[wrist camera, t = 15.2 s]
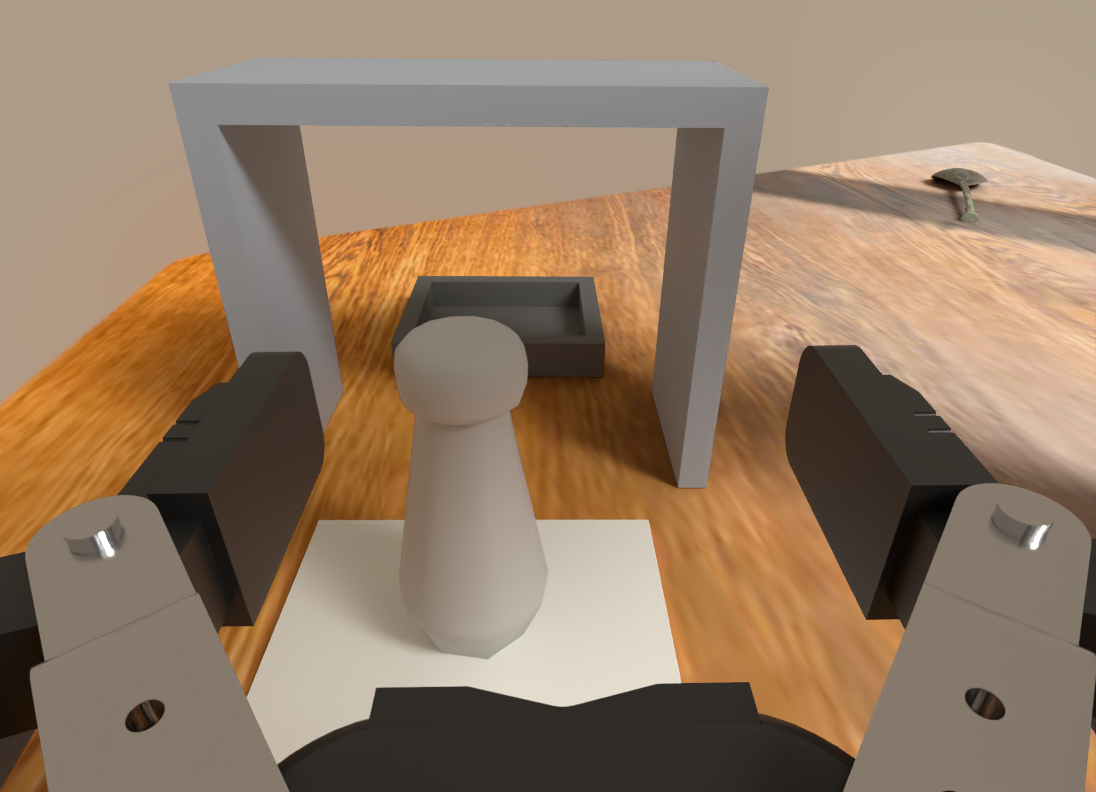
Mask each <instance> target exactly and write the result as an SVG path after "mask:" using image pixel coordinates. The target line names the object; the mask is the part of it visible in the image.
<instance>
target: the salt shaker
mask: <svg viewBox="0 0 1096 792" xmlns="http://www.w3.org/2000/svg"><path fill="white" fill-rule="evenodd" d="M394 372H395V378H396V383H397V388H398V392H399V396H400V400H401V401H402V403H403V405H404V407H405V408H406V409H408V410H409V411H410V412H412V413H413V414H414V415H415V424H414V434H413V443H412V453H411V463H410V473H409V482H408V492H407V502H406V511H405V521H404V531H403V541H402V550H401V560H400V570H399V581H400V587H401V593H402V599H403V603H404V606H405V609H406V611H407V613H408V614H409V615H410V616H411V617H412V618H413V619H414V620H415V621H416V622H417V623H418V625H419V626H420V627H421V628H422V629H423V630H424V631H425V632H426V633H427V635H428V636H429V637H430V638H431V639H432V641H433V642H434V643H435V644H436V646H437V647H438V648H439V649H440V650H441V652H442V653H448V654H454V655H461V656H468V657H475V658H482V659H489V658H490V657H492V656H493V655H495V654H496V653H498V652H499V651H500V650H502V649H503V648H505V647H506V646H508V645H509V644H511V643H512V642H513V641H515V640H516V639H518V638H519V637H521V636H522V635H523V634H524V633H525V631H526V630H527V628H528V626H529V625H530V623H531V621H532V620H533V618H534V617H535V615H536V613H537V612H538V610H539V608H540V607H541V604H542V600H543V595H544V591H545V586H546V581H547V576H548V568H547V564H546V560H545V556H544V552H543V548H542V544H541V540H540V536H539V532H538V528H537V524H536V520H535V516H534V512H533V508H532V504H531V499H530V495H529V491H528V487H527V483H526V479H525V475H524V471H523V467H522V463H521V459H520V455H519V450H518V445H517V441H516V436H515V432H514V427H513V422H512V418H511V413H510V410H512V409H513V408H515V407H516V406H518V405H519V403H520V400H521V398H522V395H523V392H524V389H525V387H526V384H527V378H528V361H527V356H526V351H525V347H524V345H523V343H522V341H521V339H520V338H519V336H518V334H516V333H515V332H514V331H513V330H511V329H510V328H509V327H507V326H505V325H503V324H501V323H499V322H497V321H495V320H492V319H487V318H481V317H476V316H453V317H446V318H441V319H436V320H431V321H428V322H426V323H424V324H422V325H420V326H418V327H416V328H414V329H413V330H411V331H410V332H409V333H408V334H407V335H406V336H405V338H404V339H403V340H402V341H401V343H400V344H399V345H398V346H397V347H396V349H395V356H394Z"/></svg>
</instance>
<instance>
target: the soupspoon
mask: <svg viewBox="0 0 1096 792" xmlns="http://www.w3.org/2000/svg"><path fill="white" fill-rule="evenodd" d="M931 177H932V178H933V179H946V180H948V181H950V182H953V183H955V184H957V185H959V186H960V187H961V189H962V191H963V194H964V197H965V201H966V205H967V206H966V207H965V213H964V214H963V215H962V216H961V218H960V221H962V222H970V223H976V222H977V221H978V219H979V217H978V215H977V213H975V212H974V206H973V201H972V197H971V194H970V190H969V187H968V186H970V185H975V184H980V183H983V182H988V181H987V179H986V178H985V177H983V176H982V175H980V174H979V173H977V172H974V171H971V170H968V169H961V168H954V169H947V170H943V171H940V172H937V173H935V174H934V175H932V176H931Z"/></svg>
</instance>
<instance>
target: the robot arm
mask: <svg viewBox="0 0 1096 792" xmlns="http://www.w3.org/2000/svg"><path fill="white" fill-rule="evenodd" d="M950 429H951V428H950V427H949V426H948V425H947V424H946V423H945V421H944V420H943V419H942V418H941V417H940V416H936V411H935V410H934V409H933V408H932V407H931V405H930V404H929V403H928V402H927V401H926V400H925V399H924V397H923V396H922V395H921V394H920V393H919V392H918V391H916V390H915V389H913V388H911V387H910V386H908V385H906V384H905V383H903V382H901V381H900V380H898V379H896V378H895V377H893V376H892V375H882V374H881V373H880V371H879V370H878V369H877V368H876V367H875V365H874V364H873V363H872V362H871V360H870V359H869V358H868V357H867V356H866V354H865V353H864V352H863V351H862V349H861V348H860V347H858V346H856V345H829V346H807V347H806V348H805V349H804V351H803V353H802V355H801V358H800V362H799V367H798V372H797V377H796V382H795V386H794V391H793V396H792V401H791V406H790V411H789V416H788V421H787V426H786V435H785V443H786V452H787V457H788V461H789V464H790V466H791V468H792V470H793V472H794V474H795V476H796V478H797V480H798V482H799V484H800V486H801V488H802V490H803V492H804V495H805V497H806V499H807V501H808V503H809V505H810V507H811V509H812V511H813V513H814V515H815V517H816V519H817V521H818V523H819V525H820V527H821V529H822V531H823V533H824V535H825V537H826V539H827V541H828V543H829V545H830V547H831V549H832V551H833V553H834V555H835V558H836V560H837V562H838V564H839V566H840V568H841V570H842V572H843V574H844V576H845V578H846V580H847V582H848V584H849V586H850V588H851V590H852V592H853V594H854V596H855V598H856V600H857V602H858V604H859V606H860V608H861V610H862V612H863V614H864V616H865V618H866V620H879V619H900V621H901V623H902V625H903V627H904V628H905V632H904V635H903V638H902V640H901V643H900V645H899V648H898V651H897V653H896V656H895V658H894V661H893V664H892V666H891V669H890V671H889V674H888V677H887V679H886V682H885V684H884V687H883V689H882V692H881V695H880V697H879V700H878V702H877V705H876V708H875V710H874V713H873V715H872V718H871V721H870V723H869V726H868V728H867V731H866V733H865V736H864V739H863V741H862V744H861V746H860V749H859V752H858V754H857V757H856V759H855V758H853V757H852V756H850V755H849V754H848V753H846V752H845V751H843V750H842V749H840V748H839V747H837V746H836V745H834V744H832V743H831V742H829V741H827V740H825V739H824V738H822V737H820V736H818V735H817V734H815V733H812V732H810V731H808V730H806V729H804V728H801V727H799V726H797V725H795V724H792V723H789V722H787V721H784V720H781V719H778V718H775V717H772V716H768V715H764V714H760V713H758V711H757V708H756V704H755V701H754V697H753V694H752V690H751V687H750V684H749V682H733V683H663V684H654V685H650V686H646V687H642V688H639V689H635V690H631V691H627V692H623V693H619V694H615V695H612V696H608V697H604V698H600V699H596V700H592V701H588V702H585V703H581V704H577V705H573V706H567V707H559V706H552V705H548V704H544V703H539V702H535V701H530V700H526V699H522V698H517V697H513V696H508V695H504V694H500V693H495V692H491V691H486V690H482V689H478V688H473V687H469V686H451V687H381V688H376V690H375V695H374V699H373V704H372V708H371V712H370V717H369V719H365V720H361V721H358V722H355V723H352V724H349V725H347V726H344V727H341V728H339V729H336V730H333V731H331V732H329V733H327V734H325V735H323V736H321V737H319V738H317V739H315V740H313V741H311V742H310V743H308V744H306V745H305V746H303V747H302V748H300V749H298V750H297V751H295V752H294V753H292V754H290V755H289V756H288V757H286V758H285V759H284V760H282V761H281V762H280V763H278V764H277V763H276V761H275V759H274V757H273V755H272V752H271V750H270V748H269V746H268V744H267V741H266V739H265V737H264V735H263V733H262V731H261V728H260V726H259V724H258V722H257V720H256V717H255V715H254V713H253V711H252V709H251V706H250V704H249V702H248V700H247V698H246V696H245V693H244V691H243V689H242V687H241V685H240V682H239V680H238V678H237V676H236V674H235V672H234V669H233V667H232V665H231V663H230V661H229V658H228V656H227V654H226V652H225V650H224V647H223V645H222V643H221V641H220V639H219V637H218V632H219V630H220V628H221V626H254V624H255V621H256V619H257V617H258V614H259V612H260V610H261V607H262V605H263V603H264V601H265V598H266V596H267V594H268V591H269V589H270V587H271V584H272V582H273V580H274V577H275V575H276V573H277V570H278V568H279V566H280V563H281V561H282V559H283V556H284V554H285V552H286V549H287V547H288V545H289V542H290V540H291V538H292V536H293V533H294V531H295V529H296V526H297V524H298V522H299V519H300V517H301V515H302V512H303V510H304V508H305V505H306V503H307V501H308V498H309V496H310V494H311V491H312V489H313V487H314V484H315V482H316V480H317V478H318V475H319V473H320V470H321V468H322V464H323V458H324V434H323V429H322V424H321V420H320V415H319V410H318V406H317V401H316V397H315V392H314V388H313V383H312V379H311V374H310V369H309V365H308V362H307V359H306V357H305V356H304V354H303V353H302V352H299V351H297V352H252V353H251V354H250V355H249V356H248V357H247V358H246V360H245V361H244V362H243V364H242V365H241V367H240V368H239V369H238V371H237V372H236V373H235V375H234V376H233V377H232V379H231V380H230V381H229V383H218V384H217V385H215V386H214V387H212V388H210V389H209V390H207V391H206V392H204V393H203V394H201V395H200V396H198V397H197V398H195V399H194V400H192V401H191V403H190V404H189V405H188V406H187V408H186V409H185V410H184V412H183V413H182V414H181V415H180V417H179V418H178V419H177V420H176V425H172V427H171V428H170V429H169V431H168V432H167V433H166V434H165V436H164V437H163V442H159V443H158V444H157V446H156V447H155V448H154V450H153V451H152V452H151V453H150V455H149V456H148V457H147V458H146V460H145V461H144V462H143V463H142V465H141V466H140V467H139V469H138V470H137V471H136V472H135V474H134V475H133V476H132V477H131V479H130V480H129V481H128V482H127V484H126V485H125V486H124V488H123V489H122V490H121V491H120V493H119V494H118V495H117V496H110V497H104V498H100V499H95V500H92V501H89V502H86V503H83V504H81V505H78V506H76V507H74V508H72V509H70V510H68V511H66V512H64V513H62V514H60V515H59V516H57V517H55V518H54V519H52V520H51V521H50V522H48V523H47V524H46V525H45V526H43V527H42V528H41V529H40V530H39V531H38V532H37V533H36V534H35V536H34V537H33V538H32V539H31V541H30V543H29V545H28V546H27V550H26V552H22V553H18V554H13V555H9V556H4V557H0V789H1V787H2V785H3V784H4V782H5V780H6V779H7V777H8V775H9V774H10V772H11V770H12V769H13V767H14V765H15V763H16V762H17V760H18V758H19V757H20V755H21V753H22V752H23V750H24V748H25V747H26V745H27V743H28V741H29V740H30V738H31V736H32V735H33V733H34V731H35V730H36V729H37V728H38V731H39V737H40V743H41V749H42V755H43V761H44V767H45V773H46V779H47V785H48V791H49V792H1084V790H1085V780H1086V770H1087V760H1088V750H1089V740H1090V730H1091V727H1092V729H1093V730H1094V732H1095V734H1096V539H1092V538H1091V537H1090V534H1089V532H1088V530H1087V529H1086V527H1085V525H1084V524H1083V523H1082V522H1081V521H1080V520H1079V519H1078V518H1077V517H1076V516H1075V515H1074V514H1073V513H1072V512H1070V511H1069V510H1068V509H1066V508H1065V507H1063V506H1062V505H1060V504H1059V503H1057V502H1055V501H1053V500H1052V499H1050V498H1047V497H1045V496H1043V495H1041V494H1039V493H1036V492H1033V491H1030V490H1027V489H1024V488H1020V487H1016V486H1012V485H1006V484H999V483H998V482H997V481H996V480H995V479H994V478H993V477H992V475H991V474H990V473H989V472H988V471H987V470H986V468H985V467H984V466H983V465H982V464H981V463H980V462H979V460H978V459H977V458H976V457H975V456H974V455H973V454H972V452H971V451H970V450H969V449H968V448H967V447H966V446H965V444H964V443H963V442H962V441H961V440H960V439H959V438H958V436H957V435H956V434H955V433H951V432H950Z"/></svg>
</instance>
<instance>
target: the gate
mask: <svg viewBox="0 0 1096 792" xmlns="http://www.w3.org/2000/svg"><path fill="white" fill-rule="evenodd" d="M169 87H170V91H171V95H172V99H173V104H174V108H175V112H176V116H177V120H178V124H179V127H180V132H181V136H182V140H183V144H184V148H185V152H186V156H187V160H188V164H189V168H190V172H191V176H192V180H193V184H194V188H195V192H196V196H197V200H198V204H199V209H200V213H201V217H202V220H203V225H204V229H205V233H206V237H207V241H208V245H209V249H210V253H211V257H212V261H213V265H214V269H215V273H216V277H217V281H218V285H219V289H220V294H221V298H222V302H223V306H224V310H225V314H226V318H227V322H228V326H229V330H230V334H231V338H232V342H233V346H234V350H235V354H236V358H237V362H238V366H239V368H240V367H241V365H242V364H243V362H244V361H245V360H246V358H247V357H248V356H249V355H250V354H251V353H252V352H297V351H299V352H302V353H303V354H304V356H305V357H306V359H307V362H308V365H309V369H310V374H311V379H312V383H313V388H314V392H315V397H316V401H317V406H318V410H319V415H320V420H321V424H322V429H323V433H324V431H325V429H326V427H327V425H328V423H329V420H330V418H331V416H332V414H333V412H334V410H335V408H336V406H337V404H338V402H339V399H340V397H341V395H342V393H343V387H342V381H341V375H340V369H339V362H338V356H337V350H336V344H335V338H334V332H333V326H332V320H331V314H330V308H329V301H328V295H327V289H326V283H325V277H324V271H323V265H322V259H321V253H320V247H319V240H318V235H317V228H316V222H315V216H314V210H313V204H312V198H311V192H310V186H309V180H308V173H307V168H306V161H305V156H304V149H303V144H302V137H301V131H300V125H326V126H327V125H329V126H484V127H485V126H486V127H489V126H490V127H503V126H504V127H643V128H645V127H646V128H647V127H648V128H652V127H653V128H656V127H657V128H677V138H676V149H675V159H674V169H673V180H672V190H671V200H670V211H669V221H668V231H667V241H666V252H665V262H664V272H663V283H662V293H661V303H660V314H659V324H658V334H657V345H656V355H655V365H654V376H653V386H652V394H653V398H654V401H655V405H656V409H657V412H658V416H659V420H660V423H661V427H662V431H663V434H664V438H665V442H666V445H667V449H668V453H669V456H670V460H671V464H672V467H673V471H674V475H675V478H676V482H677V486H678V488H706V487H707V481H708V474H709V468H710V461H711V455H712V449H713V442H714V436H715V429H716V423H717V416H718V410H719V404H720V397H721V391H722V384H723V378H724V371H725V365H726V359H727V352H728V346H729V339H730V333H731V326H732V320H733V314H734V307H735V301H736V294H737V288H738V281H739V275H740V269H741V262H742V256H743V249H744V243H745V236H746V230H747V224H748V217H749V211H750V204H751V198H752V192H753V185H754V179H755V172H756V166H757V159H758V152H759V146H760V140H761V134H762V127H763V121H764V114H765V108H766V101H767V95H768V89H769V87H767V86H765V85H762V84H761V83H759V82H756V81H754V80H752V79H750V78H748V77H746V76H744V75H741V74H740V73H737V72H735V71H733V70H731V69H729V68H727V67H724V66H723V65H720V64H718V63H716V62H714V61H621V60H618V61H617V60H613V61H612V60H488V59H487V60H486V59H485V60H484V59H356V58H351V59H350V58H256V59H252V60H249V61H245V62H242V63H238V64H235V65H231V66H228V67H224V68H220V69H217V70H213V71H210V72H206V73H203V74H199V75H195V76H192V77H188V78H185V79H181V80H178V81H174V82H170V83H169Z"/></svg>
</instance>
